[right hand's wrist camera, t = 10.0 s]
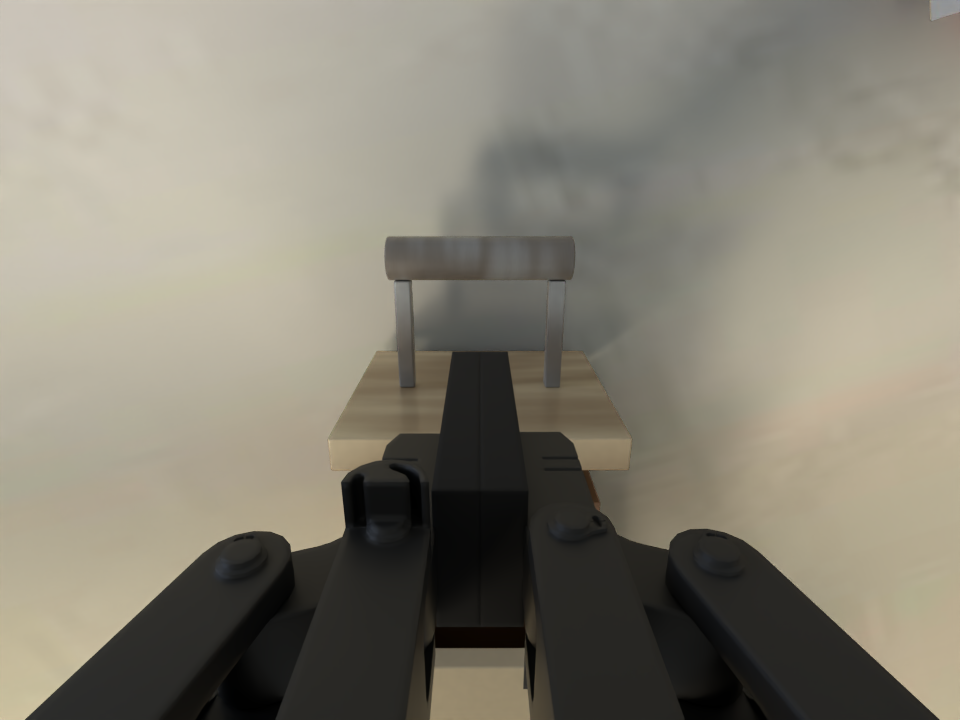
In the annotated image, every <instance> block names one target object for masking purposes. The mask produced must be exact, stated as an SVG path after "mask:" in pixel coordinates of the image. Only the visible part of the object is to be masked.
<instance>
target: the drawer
mask: <svg viewBox="0 0 960 720" xmlns="http://www.w3.org/2000/svg"><path fill="white" fill-rule="evenodd" d="M574 266H575V244H574V240H573V237H571V236H534V237H387V238H386V242H385V269H386V274H387V277H388V279H389V280H395V281H394V293H395V311H396V329H397V347H398V351H377V352H376V353H375V355H374V357H373V359H372V361H371V362H370V364H369V366H368V368H367V370H366V371H365V373H364V375H363V377H362V378H361V380H360V382H359V384H358V386H357V387H356V389H355V391H354V393H353V395H352V396H351V398H350V400H349V402H348V404H347V405H346V407H345V409H344V411H343V413H342V414H341V416H340V418H339V420H338V422H337V423H336V425H335V427H334V429H333V431H332V432H331V434H330V436H329V438H328V447H329V456H330V465H331V470H354V469H356V468H357V467H359V466H361V465H364V464H367V463H371V462H374V461H380V460H382V457H383V454H384V451H385V448H386V445H387V444H388V443H389V442H391V441H392V440H393V439H394V438H395V437H396V436H398V435H399V434H400V433H440V430H441V423H442V417H443V410H444V403H445V397H446V390H447V383H448V377H449V370H450V363H451V357H452V351H415V343H414V320H413V297H412V280H548V286H547V309H546V332H545V351H508V357H509V363H510V370H511V377H512V383H513V390H514V397H515V403H516V410H517V417H518V423H519V430H520V432H561V433H562V434H563V435H565V436H566V437H567V438H568V439H569V440H570V441H571V442H573V443H574V446H575V449H576V452H577V455H578V459H579V461H580V464H581V467H582V471H583V473H584V476H585V479H586V482H587V485H588V487H589V490H590V493H591V496H592V499H593V502H594V505H595V508H596V510H598V511H599V512H600V501H599V498H598V495H597V493H596V490H595V487H594V484H593V482H592V479H591V476H590V473H589V470H628V469H629V464H630V455H631V446H632V438H631V436H630V434H629V432H628V430H627V429H626V427H625V425H624V423H623V422H622V420H621V418H620V416H619V415H618V413H617V411H616V409H615V407H614V406H613V404H612V402H611V400H610V399H609V397H608V395H607V393H606V392H605V390H604V388H603V386H602V384H601V383H600V381H599V379H598V377H597V376H596V374H595V372H594V370H593V369H592V367H591V365H590V363H589V361H588V360H587V358H586V356H585V354H584V353H583V351H562V342H563V324H564V306H565V288H566V281H565V280H571V279H572V276H573V273H574ZM435 648H525V619H524V627H436V622H435Z"/></svg>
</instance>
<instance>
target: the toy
mask: <svg viewBox="0 0 960 720" xmlns="http://www.w3.org/2000/svg"><path fill="white" fill-rule="evenodd" d="M959 12H960V0H930V21H932V20H936V19H939V18H942V17H946V16H949V15H952V14H956V13H959Z"/></svg>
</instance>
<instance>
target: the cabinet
mask: <svg viewBox="0 0 960 720" xmlns="http://www.w3.org/2000/svg"><path fill="white" fill-rule="evenodd" d="M435 654H436V655H435V666H434V678H433V689H432V701H431V712H430V720H530V711H529V700H528V689H523V681H524V654H525V648H435Z"/></svg>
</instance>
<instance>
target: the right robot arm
mask: <svg viewBox="0 0 960 720" xmlns="http://www.w3.org/2000/svg"><path fill="white" fill-rule="evenodd" d="M341 486H342V496H343V505H344V515H345V525H346V529H345V531H344V534H343V537H341V538H339V539H337V540H335V541H333V542H331V543H328V544H324V545H321V546H318V547H313V548H309V549H304V550H300V551H295V552H291V548H290V544H289V543H288V542H287V541H286V539H285V538H284V537H283V536H281V535H278V534H275V533H272V532H263V531H253V532H248V533H243V534H238V535H234V536H232V537H230V538H227V539H225V540H223V541H220V542H218V543H217V544H215V545H214V546H212V547H211V548H210V549H208V550H207V551H205V552H204V553H203V554H202V555H201V556H200V557H198V558H197V559H196V560H195V561H194V562H193V563H192V564H191V565H190V566H189V567H188V568H187V569H186V570H185V571H184V572H182V573H181V574H180V575H179V576H178V577H177V578H176V579H175V580H174V581H173V582H172V583H171V584H170V585H169V586H167V587H166V588H165V589H164V590H163V591H162V592H161V593H160V594H159V595H158V596H157V597H156V598H155V599H154V600H152V601H151V602H150V603H149V604H148V605H147V606H146V607H145V608H144V609H143V610H142V611H141V612H140V613H139V614H138V615H136V616H135V617H134V618H133V619H132V620H131V621H130V622H129V623H128V624H127V625H126V626H125V627H124V628H123V629H121V630H120V631H119V632H118V633H117V634H116V635H115V636H114V637H113V638H112V639H111V640H110V641H109V642H108V643H107V644H105V645H104V646H103V647H102V648H101V649H100V650H99V651H98V652H97V653H96V654H95V655H94V656H93V657H92V658H90V659H89V660H88V661H87V662H86V663H85V664H84V665H83V666H82V667H81V668H80V669H79V670H78V671H77V672H75V673H74V674H73V675H72V676H71V677H70V678H69V679H68V680H67V681H66V682H65V683H64V684H63V685H62V686H61V687H59V688H58V689H57V690H56V691H55V692H54V693H53V694H52V695H51V696H50V697H49V698H48V699H47V700H46V701H44V702H43V703H42V704H41V705H40V706H39V707H38V708H37V709H36V710H35V711H34V712H33V713H32V714H31V715H30V716H28V717H27V718H26V719H25V720H430V712H431V701H432V689H433V678H434V666H435V655H436V654H435V622H436V627H524V619H525V654H524V681H523V689H528V700H529V711H530V720H939V719H938V718H937V717H936V716H935V715H934V714H933V713H932V712H931V711H930V710H929V709H927V708H926V707H925V706H924V705H923V704H922V703H921V702H920V701H919V700H918V699H917V698H916V697H915V696H913V695H912V694H911V693H910V692H909V691H908V690H907V689H906V688H905V687H904V686H903V685H902V684H901V683H899V682H898V681H897V680H896V679H895V678H894V677H893V676H892V675H891V674H890V673H889V672H888V671H887V670H885V669H884V668H883V667H882V666H881V665H880V664H879V663H878V662H877V661H876V660H875V659H874V658H873V657H871V656H870V655H869V654H868V653H867V652H866V651H865V650H864V649H863V648H862V647H861V646H860V645H859V644H857V643H856V642H855V641H854V640H853V639H852V638H851V637H850V636H849V635H848V634H847V633H846V632H844V631H843V630H842V629H841V628H840V627H839V626H838V625H837V624H836V623H835V622H834V621H833V620H832V619H830V618H829V617H828V616H827V615H826V614H825V613H824V612H823V611H822V610H821V609H820V608H819V607H818V606H816V605H815V604H814V603H813V602H812V601H811V600H810V599H809V598H808V597H807V596H806V595H805V594H804V593H802V592H801V591H800V590H799V589H798V588H797V587H796V586H795V585H794V584H793V583H792V582H791V581H790V580H788V579H787V578H786V577H785V576H784V575H783V574H782V573H781V572H780V571H779V570H778V569H777V568H776V567H774V566H773V565H772V564H771V563H770V562H769V561H768V560H767V559H766V558H765V557H764V556H763V555H762V554H760V553H759V552H758V551H757V550H756V549H754V548H753V547H752V546H750V545H749V544H747V543H746V542H744V541H743V540H741V539H739V538H736V537H734V536H732V535H729V534H727V533H724V532H719V531H715V530H710V529H690V530H687V531H684V532H682V533H679V534H677V535H676V536H675V537H674V539H673V540H672V541H671V542H670V548H669V550H666V549H661V548H657V547H652V546H648V545H643V544H640V543H637V542H633V541H630V540H628V539H626V538H623V537H621V536H619V535H617V533H616V531H615V528H614V526H613V525H612V523H611V522H610V520H609V519H608V517H607V516H605V515H604V514H602V513H601V512H599V511H598V510H596V508H595V505H594V502H593V499H592V496H591V493H590V490H589V487H588V485H587V482H586V479H585V476H584V473H583V471H582V467H581V464H580V461H579V459H578V455H577V452H576V449H575V446H574V443H573V442H571V441H570V440H569V439H568V438H567V437H566V436H565V435H563V434H562V433H561V432H520V430H519V423H518V417H517V410H516V403H515V397H514V390H513V383H512V377H511V370H510V363H509V357H508V351H452V357H451V363H450V370H449V377H448V383H447V390H446V397H445V403H444V410H443V417H442V423H441V430H440V433H400V434H399V435H398V436H396V437H395V438H394V439H393V440H392V441H391V442H389V443H388V444H387V445H386V448H385V451H384V454H383V457H382V460H380V461H374V462H371V463H367V464H364V465H361V466H359V467H357V468H356V469H354V470H352V471H351V472H349V473H348V474H347V475H346V477H345V478H344V479H343V480H342V482H341Z"/></svg>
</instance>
